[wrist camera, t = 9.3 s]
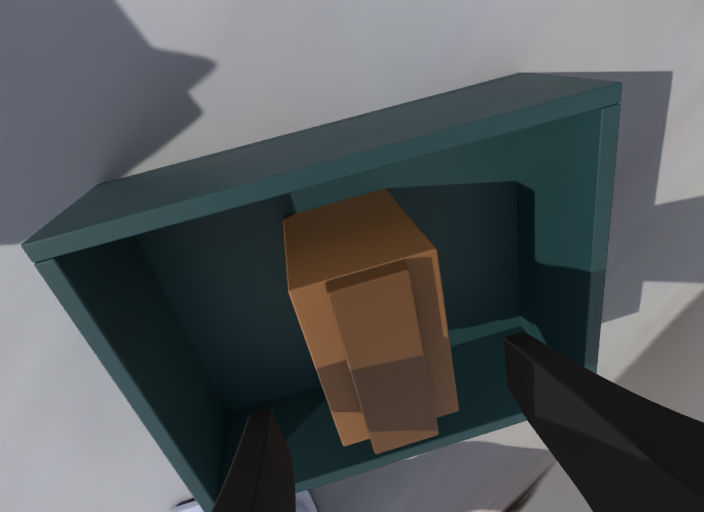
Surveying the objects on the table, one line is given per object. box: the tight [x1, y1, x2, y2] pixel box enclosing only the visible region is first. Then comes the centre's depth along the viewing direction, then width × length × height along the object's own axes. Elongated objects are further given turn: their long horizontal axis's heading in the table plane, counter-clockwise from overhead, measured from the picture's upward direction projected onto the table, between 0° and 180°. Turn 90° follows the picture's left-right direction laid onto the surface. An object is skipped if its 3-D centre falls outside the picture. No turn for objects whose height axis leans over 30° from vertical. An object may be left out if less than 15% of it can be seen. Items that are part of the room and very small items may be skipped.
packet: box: [283, 189, 459, 454], centre depth 16 cm, size 4×7×7 cm, turn 13°
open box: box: [21, 73, 622, 512], centre depth 17 cm, size 13×17×6 cm
